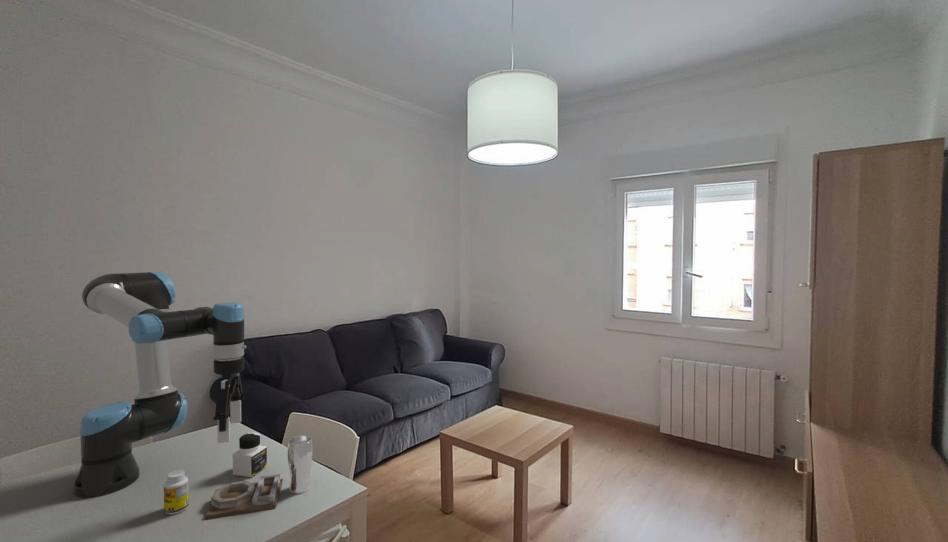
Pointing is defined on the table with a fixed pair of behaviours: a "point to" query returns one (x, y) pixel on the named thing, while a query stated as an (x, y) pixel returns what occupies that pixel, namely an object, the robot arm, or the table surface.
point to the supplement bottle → (176, 492)
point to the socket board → (244, 506)
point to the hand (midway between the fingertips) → (230, 431)
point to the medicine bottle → (249, 456)
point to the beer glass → (300, 463)
